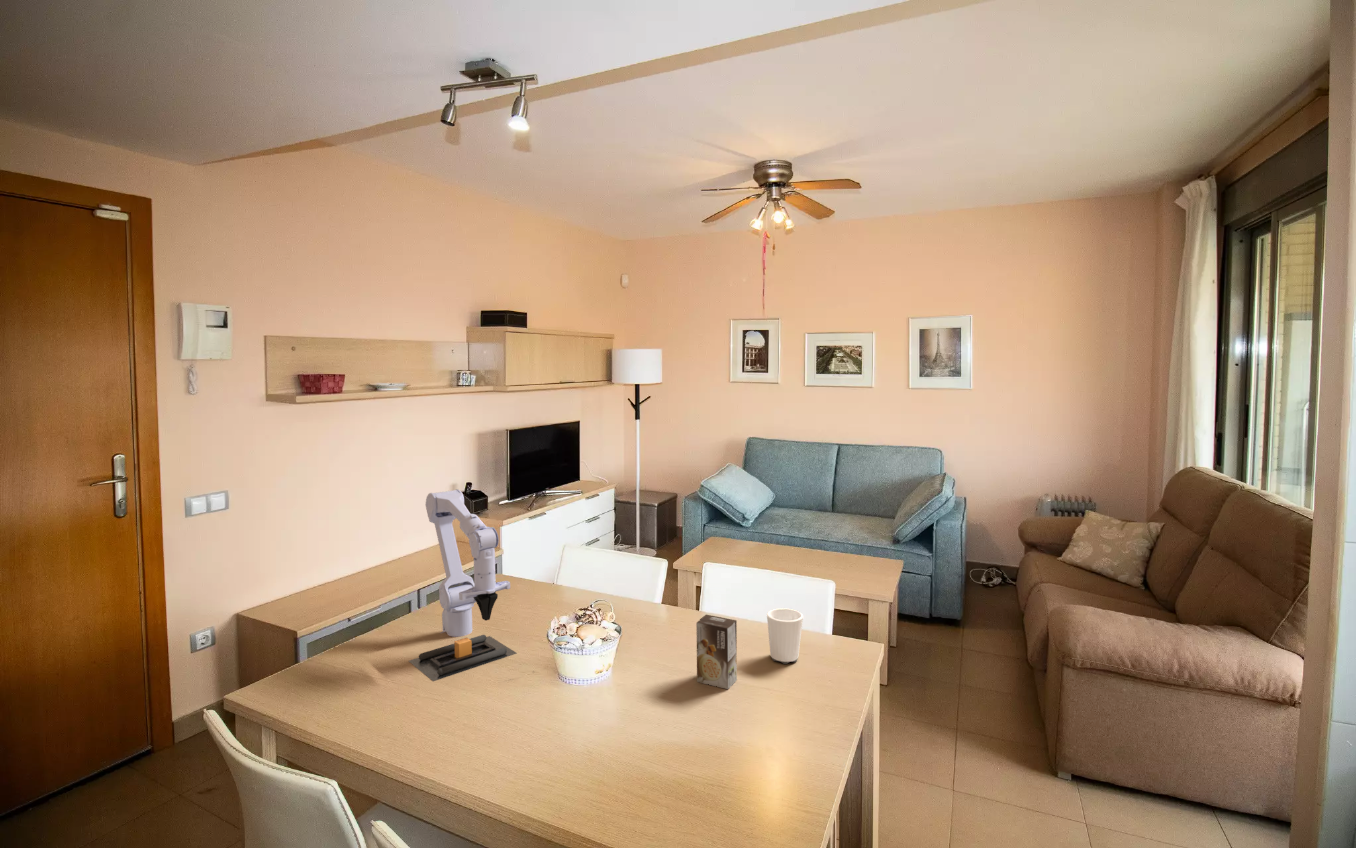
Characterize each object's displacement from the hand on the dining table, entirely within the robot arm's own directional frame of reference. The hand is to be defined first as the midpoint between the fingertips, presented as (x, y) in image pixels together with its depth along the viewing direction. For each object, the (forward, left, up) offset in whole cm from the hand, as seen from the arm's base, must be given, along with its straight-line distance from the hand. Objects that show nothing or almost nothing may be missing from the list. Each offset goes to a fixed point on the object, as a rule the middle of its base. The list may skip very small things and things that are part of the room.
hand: (486, 619), depth 190 cm
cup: (+59, +59, -11) cm, 84 cm away
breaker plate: (0, -7, -10) cm, 13 cm away
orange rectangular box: (0, -7, -9) cm, 11 cm away
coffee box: (+55, +36, -11) cm, 67 cm away
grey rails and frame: (0, -7, -9) cm, 11 cm away
